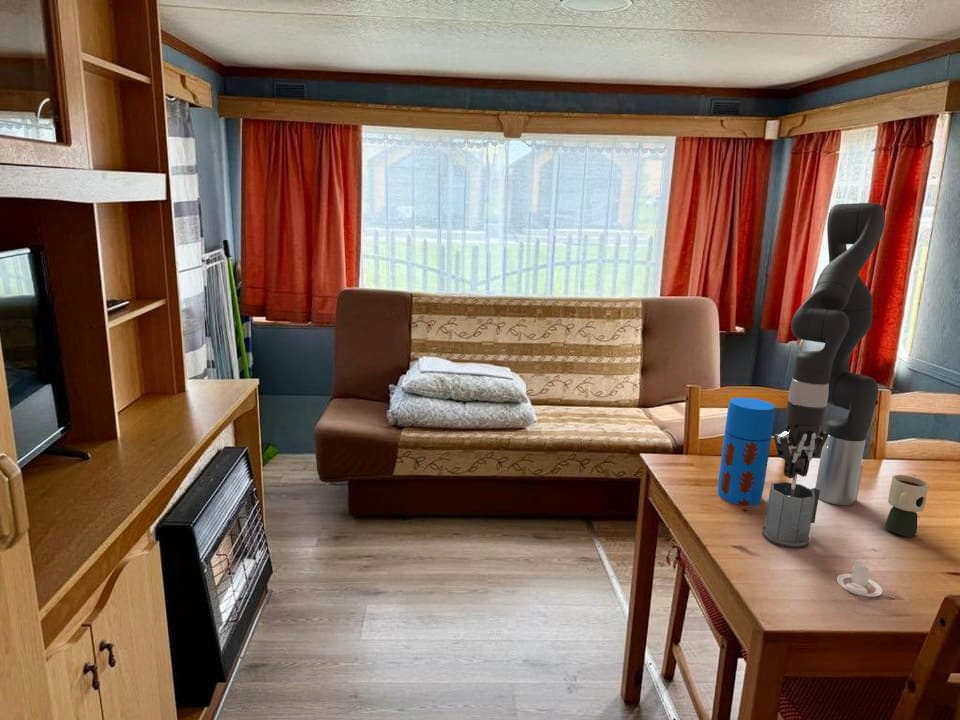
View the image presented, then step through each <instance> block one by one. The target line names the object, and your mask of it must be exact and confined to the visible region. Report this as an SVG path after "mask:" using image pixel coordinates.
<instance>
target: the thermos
mask: <svg viewBox="0 0 960 720" xmlns="http://www.w3.org/2000/svg"><path fill="white" fill-rule="evenodd" d="M775 415H776V406H775V405H774V404H772V402H769V401H766V400H762V399H759V398H758V399H757V398H750V397H734V398H730V400H729V403H728V405H727V414H726V420H725V427H724V435H723V442H722V449H721V456H720V457H721V459H720V465H719V467H720V468H719V472H718V473H719V474H718V480H717V481H718V483H717V495H718V496H719V498H721V499H722V500H724V501H726V502H728V503H732V504H735V505H740V506H749V507H750V506H757V505H758V504H760V503H761V501H762V497H763V492H764V488H765V482H766V475H767V469H768V462H769V455H770V450H771V449H770V448H771V442H772V435H773V429H774V423H775V422H774V421H775Z"/></svg>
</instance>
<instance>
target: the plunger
mask: <svg viewBox="0 0 960 720" xmlns="http://www.w3.org/2000/svg"><path fill="white" fill-rule="evenodd" d="M790 455H791V456H792V454H790ZM805 460H806V458H805V457H804V456H801V455H799V454H798V457H797V461H796V470H795V476H794V478H791V479H792V480H791V483H792V486H791V492H790V496H792V497H794V492H795V486H796V484H797V478H798V472H799V473H801V472H804V466H805Z"/></svg>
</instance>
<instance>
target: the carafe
mask: <svg viewBox="0 0 960 720" xmlns="http://www.w3.org/2000/svg"><path fill="white" fill-rule="evenodd" d="M791 486H792V482H790V481H777V482H771V484H770V489H769V496H768V503H767V508H766V509H767V510H766V516H765V522H764V525H763V527H762V533H761V534H762V537H763V538H764V539H765V540H766V541H767V542H769V543H771V544H772V545H775V546H778V547H779V548H784V549H790V550H802V549H805V548H808V546H809V544H810V530H811V526H812V525H811V524H815V521H816V516H817V509H818V505H819V504H818V503H819V500H820V499H819V493H820V490H819V489H817V488H815V487H813V488H809V487H807V486H805V485H803V484H800V483H796V486H795V492H794V497H792V496H790V492H791Z"/></svg>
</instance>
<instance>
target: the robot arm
mask: <svg viewBox="0 0 960 720" xmlns="http://www.w3.org/2000/svg"><path fill="white" fill-rule="evenodd" d="M885 223H886V213H885V209H884V207H883V205H882V204H880V203H877V202H860V203H859V202H858V203H855V202H854V203H837V204H835V205H833V206H832V207H831V208H830V209H829V212H828V216H827V224H826V225H827V227H826V231H827V233H826V234H827V235H826V236H827V245H828V248H827V251H828V264H827V265H826V266H825V267H824V268H823V269H822V271H821V273H820V274H819V277H818V279H817V281H816V284H815V287H814V289H813V291H812V293H811V294H810V295H809V296H808V298H807V299H806V300H805V301H804V302H803V303H802V304H801V305H800V306H799V308H797V310H796V311H795V313H794V314H793V316H792V319H791V323H790V329H791V333H792V334H793V336H794V337H795V338H797V339H799V340H802V341H807V342H816V343H821V344H822V343H823V344H824V345H823V348H822V349H821V350H814V351H811V350H808V351H802V352H801V351H800V352H799V353H797V355H796V357H795V361H794V367H793V373H792V378H791V379H792V380H791V382H790V386H789V391H788V397H787V403H786V409H785V415H784V417H785V419H786V421H787V424H786V427H785V429H784V431H783V432H782V433H780V434H779V433H775V434H774V436H773V438H774V439H773V440H774V444H775V447H776V453H777V456H778V457H779V458H780V459H783V460H784V467H783V475H784V476H785V477H787V478H789V479H793V478H794V476H795V470H796V461H797V457H798V455H801V456H804V457H805V458H806V460H805V466H804V472H801V473H799V472H798V474H797V476H800V477H807V475H808V473H809V469H810V468H809V467H810V462H811V461H812V460H813V458H814V457H815V458H818V457H819V455H820V459H819V465H818V471H817V476H816V481H815V487H814V488H817V489H819V490H820V493H819V499H818V500H821V501H823V502H826V503H829V504H833V505H838V506H851V505H853V504H854V503H855V501H857V500H858V497H859V491H860V485H861V480H862V476H863V475H862V473H863V468H864V467H863V465H862V462H863V456H864V449H865V445H866V439H867V435H868V432H869V430H870V428H871V424H872V420H873V416H874V412H875V408H876V404H877V401H878V394H879V385H878V382H877V380H876V379H875V378H873V377H870V376H867V375H863V374H858V373H856V372H855V373H854V372H851V371H850V368H849V367H850V365H849V364H850V360H851V359H850V358H851V355H852V352H853V351H854V349H855V348H856V346H858V344H859V343H860V342H861V341H862V339H864V337H865V335H866V334H867V333H868V332H869V330H870V328H871V326H872V320H873V303H874V302H873V295H872V293H871V291H870V289H869V288H868V286H867V285H866V283H865V282H864V281H863V279H862V278H861V277H860V273H861V271H862V270H863V267H864V266H865V265H866V263H867V262H868V260H869V259H870V257H871V256H872V254H873V252H874V250H875V248H876V247H877V246H878V244H879V242H880V240H881V238H882V235H883V233H884V229H885V225H886V224H885ZM847 245H851V246H850V247H849V248H847ZM828 404H829V405H832V406H835V407H838V408H841V409H843V410H844V409H845V410H846V411H847V410H848V415H847V417H846V418H834V419H829V420H828V421H827V422H826V424H825V429H824V430H823V429H821V426H822V425H824V422H825V416H826V411H827V410H826V409H827V405H828ZM815 446H816V448H815ZM791 453H792V454H791ZM791 455H792V456H791Z"/></svg>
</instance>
